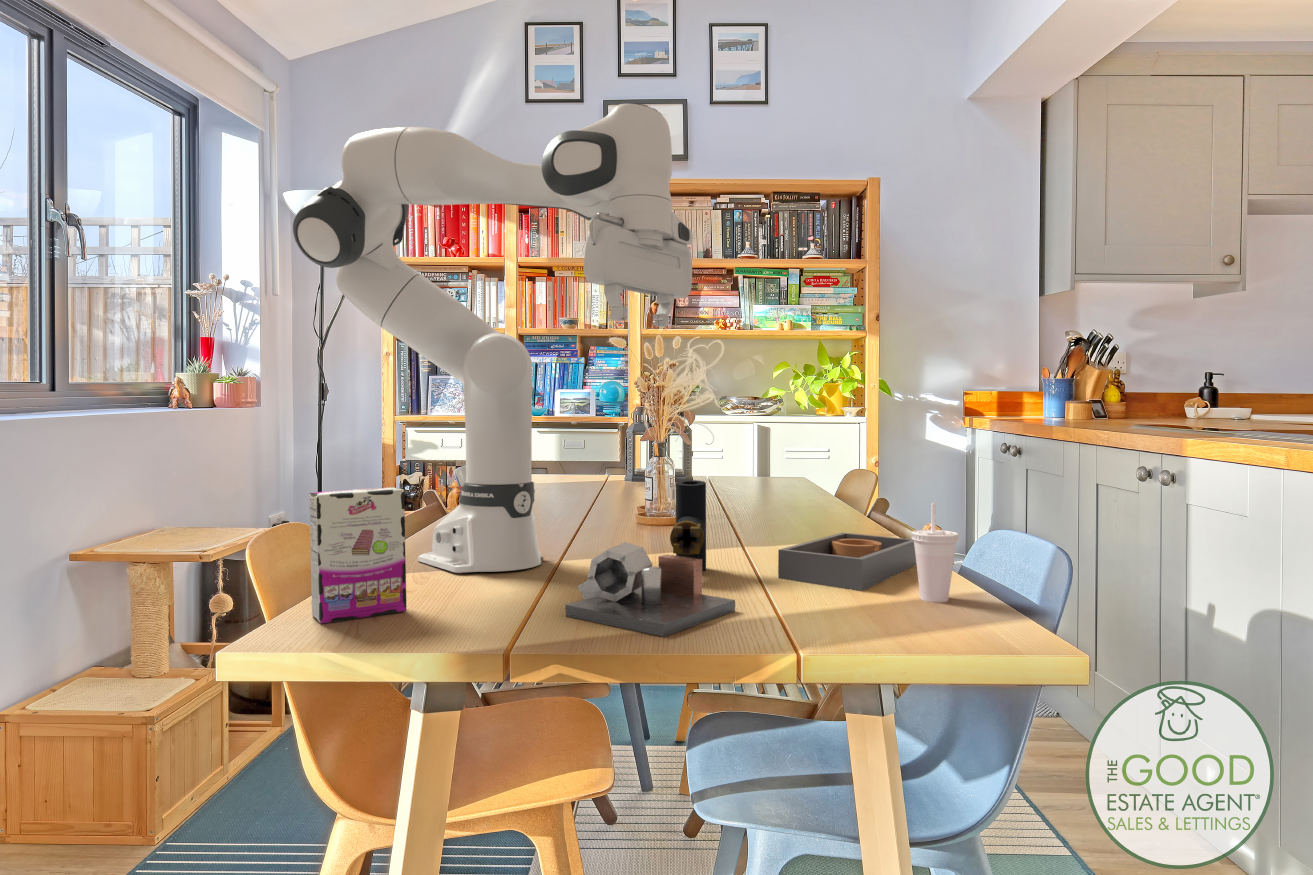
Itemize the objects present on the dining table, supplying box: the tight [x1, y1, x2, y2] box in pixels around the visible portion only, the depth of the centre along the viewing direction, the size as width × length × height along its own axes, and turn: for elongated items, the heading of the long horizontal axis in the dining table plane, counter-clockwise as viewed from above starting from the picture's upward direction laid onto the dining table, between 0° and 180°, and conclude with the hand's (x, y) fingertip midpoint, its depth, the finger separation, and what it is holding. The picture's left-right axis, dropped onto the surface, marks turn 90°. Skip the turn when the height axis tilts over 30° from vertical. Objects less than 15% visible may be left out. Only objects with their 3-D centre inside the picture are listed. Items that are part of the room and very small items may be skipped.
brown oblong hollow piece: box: [832, 539, 882, 558], centre depth 142 cm, size 18×8×7 cm, turn 49°
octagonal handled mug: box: [577, 541, 653, 602], centre depth 110 cm, size 6×10×7 cm
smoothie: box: [911, 502, 960, 603], centre depth 114 cm, size 6×6×14 cm
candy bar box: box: [308, 486, 407, 624], centre depth 105 cm, size 11×5×16 cm, turn 126°
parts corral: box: [777, 532, 917, 592], centre depth 133 cm, size 14×24×5 cm, turn 143°
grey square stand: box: [564, 554, 736, 638], centre depth 106 cm, size 16×16×6 cm
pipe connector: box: [669, 479, 707, 573], centre depth 130 cm, size 12×5×15 cm, turn 173°
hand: (640, 323), depth 113 cm, fingers open, 8 cm apart
